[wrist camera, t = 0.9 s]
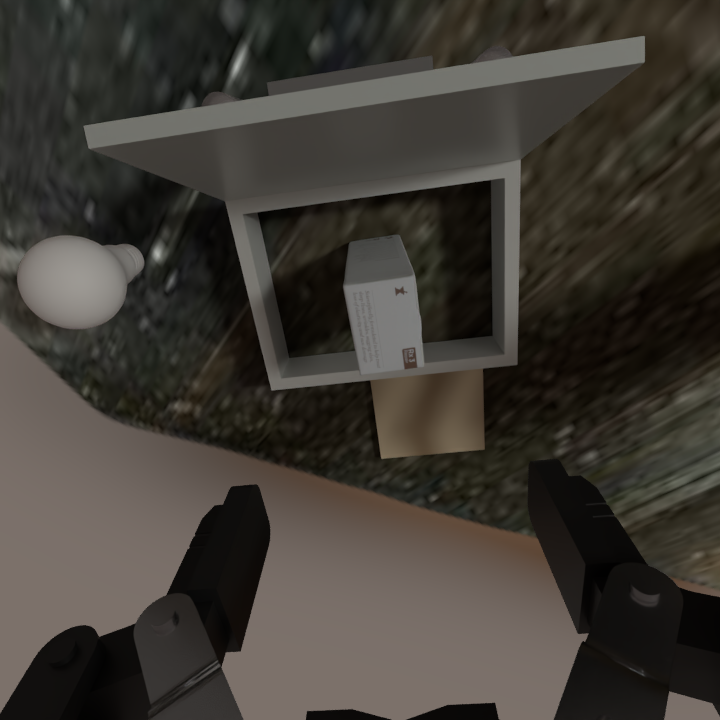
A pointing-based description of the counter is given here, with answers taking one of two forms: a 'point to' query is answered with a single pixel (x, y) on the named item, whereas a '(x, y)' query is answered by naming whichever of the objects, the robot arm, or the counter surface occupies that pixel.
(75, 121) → the counter surface
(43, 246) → the lightbulb
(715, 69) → the counter surface
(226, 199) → the lid
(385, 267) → the skincare box
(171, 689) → the robot arm
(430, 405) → the mat
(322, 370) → the case
